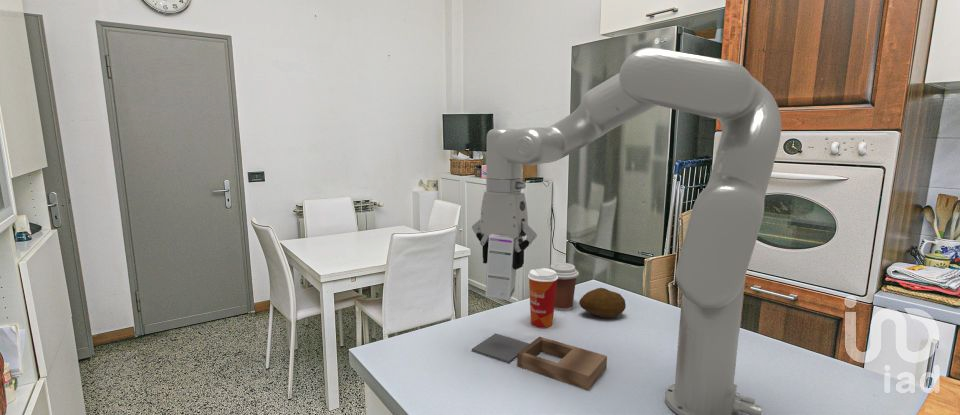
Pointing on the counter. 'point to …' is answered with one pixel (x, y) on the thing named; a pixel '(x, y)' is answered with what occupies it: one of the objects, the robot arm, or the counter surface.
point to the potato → (603, 303)
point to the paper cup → (542, 296)
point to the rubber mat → (500, 348)
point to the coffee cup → (564, 285)
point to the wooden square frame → (563, 362)
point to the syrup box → (500, 267)
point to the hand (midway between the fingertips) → (502, 264)
